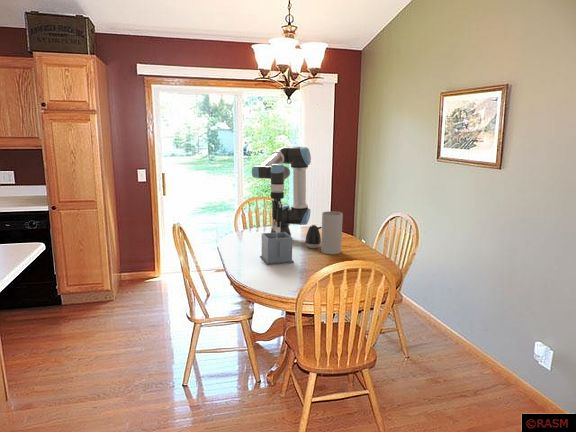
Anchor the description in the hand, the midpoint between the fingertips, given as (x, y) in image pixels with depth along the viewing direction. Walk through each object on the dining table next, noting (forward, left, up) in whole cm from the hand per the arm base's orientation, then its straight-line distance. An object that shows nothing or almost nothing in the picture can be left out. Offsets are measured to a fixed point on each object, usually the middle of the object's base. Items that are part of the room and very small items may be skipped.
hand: (276, 231), depth 238 cm
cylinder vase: (-7, +38, -17) cm, 42 cm away
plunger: (0, 0, -7) cm, 7 cm away
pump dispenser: (-20, +31, -17) cm, 41 cm away
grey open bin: (0, 0, -17) cm, 17 cm away
